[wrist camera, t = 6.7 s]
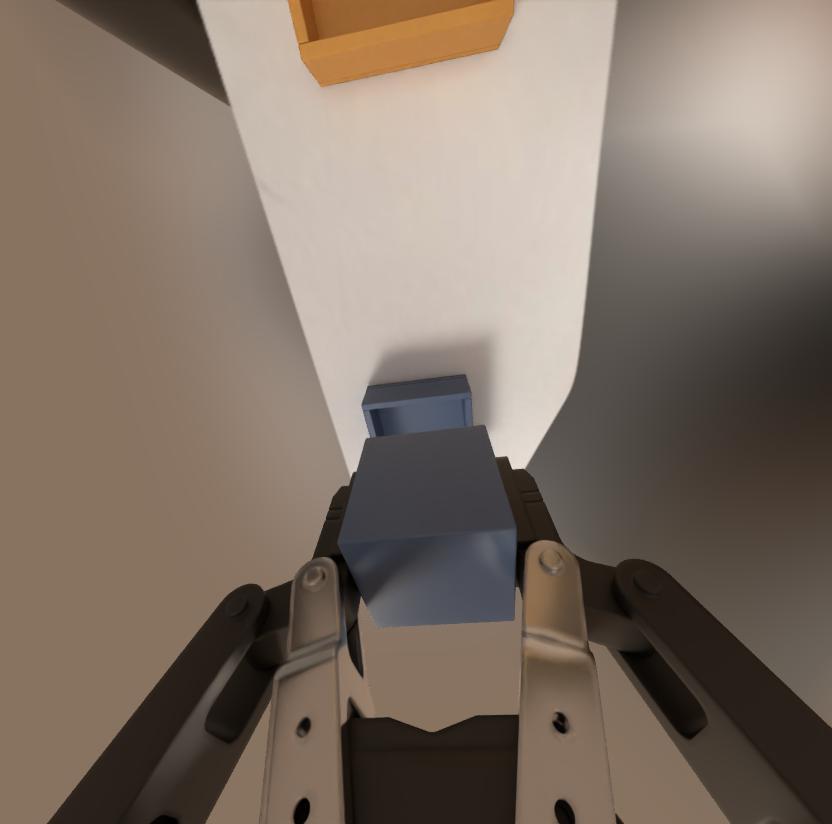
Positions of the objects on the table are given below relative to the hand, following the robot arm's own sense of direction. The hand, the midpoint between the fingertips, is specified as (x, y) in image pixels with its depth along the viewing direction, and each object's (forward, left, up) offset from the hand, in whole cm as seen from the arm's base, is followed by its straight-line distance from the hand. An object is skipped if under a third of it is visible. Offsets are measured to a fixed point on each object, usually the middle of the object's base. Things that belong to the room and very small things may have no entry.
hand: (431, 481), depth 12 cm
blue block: (0, 0, 0) cm, 0 cm away
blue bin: (+4, -8, -18) cm, 20 cm away
